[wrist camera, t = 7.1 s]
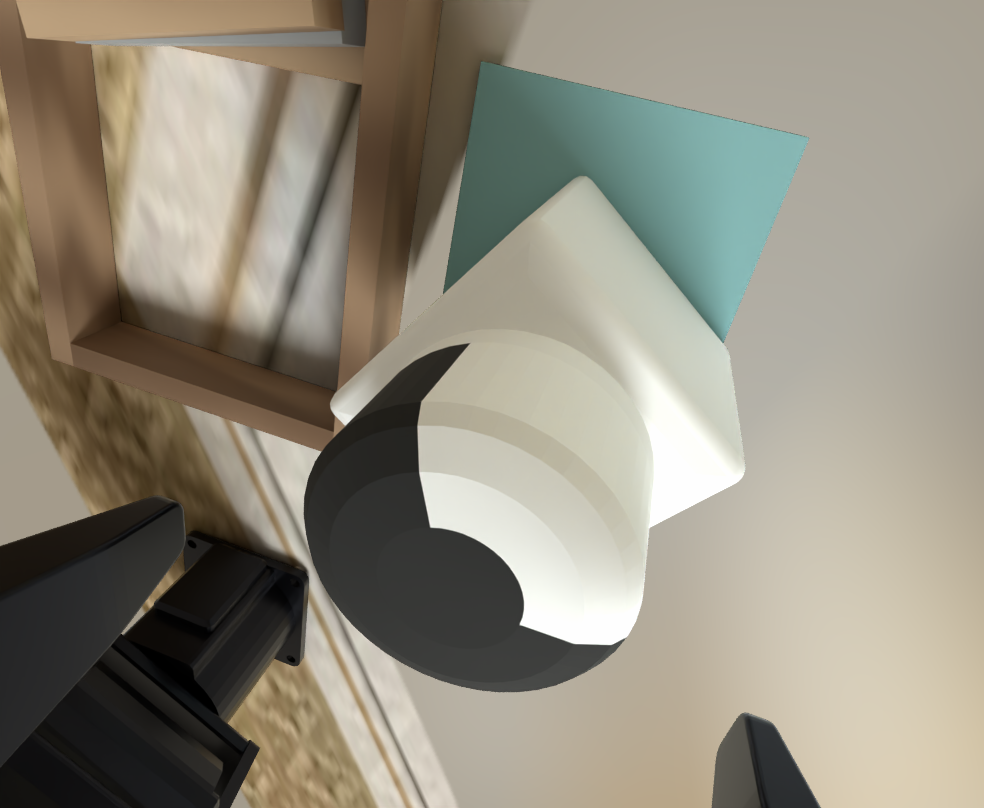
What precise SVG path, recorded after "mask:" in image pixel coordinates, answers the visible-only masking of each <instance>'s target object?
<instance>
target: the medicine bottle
mask: <svg viewBox="0 0 984 808" xmlns="http://www.w3.org/2000/svg"><path fill="white" fill-rule="evenodd" d="M330 408H331V410H332V412H333V413H334V415H335V416H336V417H337V418H338V419H339V420H340V421H341V422H342V423H343V424H344V425H345V427H344V428H343V429H342V430H341V431H340V432H339V433H338V434H337V435H336V436H335V437H334V438H333V439H332V440H331V441H330V442H329V443H328V444H327V445H326V446H325V448H324V449H323V451H322V452H321V454H320V455H319V457H318V458H317V460H316V461H315V463H314V466H313V468H312V471H311V473H310V475H309V478H308V482H307V487H306V491H305V496H304V521H305V529H306V536H307V540H308V545H309V549H310V553H311V556H312V560H313V563H314V566H315V568H316V571H317V573H318V575H319V578H320V580H321V582H322V584H323V585H324V587H325V589H326V591H327V592H328V594H329V596H330V597H331V599H332V600H333V602H334V603H335V604H336V606H337V607H338V608H339V610H340V611H341V612H342V614H343V615H344V616H345V617H346V618H347V619H348V620H349V621H350V622H351V624H352V625H353V626H354V627H355V628H356V629H357V630H358V631H360V632H361V633H362V634H363V635H364V636H365V637H366V638H367V639H368V640H369V641H371V642H372V643H373V644H375V645H376V646H377V647H379V648H380V649H381V650H383V651H384V652H385V653H387V654H388V655H390V656H392V657H393V658H395V659H396V660H398V661H400V662H401V663H403V664H405V665H407V666H409V667H411V668H413V669H415V670H417V671H419V672H421V673H423V674H426V675H428V676H431V677H433V678H435V679H438V680H441V681H444V682H447V683H450V684H454V685H458V686H461V687H466V688H471V689H476V690H482V691H492V692H523V691H531V690H539V689H542V688H547V687H550V686H555V685H557V684H560V683H563V682H565V681H568V680H570V679H572V678H575V677H577V676H579V675H581V674H583V673H585V672H587V671H588V670H590V669H592V668H593V667H595V666H597V665H598V664H600V663H601V662H603V661H604V660H605V659H606V658H608V657H609V656H610V655H611V654H612V653H614V652H615V651H616V649H617V648H618V647H619V646H620V645H621V644H622V642H623V641H624V640H625V639H626V638H627V636H628V634H629V633H630V631H631V629H632V627H633V625H634V623H635V622H636V620H637V616H638V613H639V610H640V606H641V604H642V598H643V590H644V581H645V569H646V558H647V548H648V537H649V528H650V527H652V526H654V525H655V524H657V523H659V522H661V521H663V520H665V519H667V518H669V517H671V516H673V515H675V514H677V513H679V512H681V511H682V510H685V509H686V508H688V507H690V506H692V505H694V504H696V503H698V502H700V501H702V500H704V499H706V498H708V497H710V496H712V495H714V494H715V493H718V492H719V491H721V490H723V489H725V488H727V487H729V486H731V485H733V484H735V483H737V482H738V481H739V480H740V479H741V478H742V477H743V474H744V471H745V467H746V465H745V459H744V451H743V444H742V438H741V431H740V424H739V417H738V410H737V403H736V396H735V389H734V382H733V375H732V368H731V361H730V355H729V352H728V350H727V348H726V347H725V346H724V344H723V343H722V342H721V341H720V339H719V338H718V337H717V336H716V334H715V333H714V332H713V331H712V329H711V328H710V327H709V326H708V324H707V323H706V322H705V321H704V319H703V318H702V317H701V316H700V314H699V313H698V312H697V311H696V309H695V308H694V307H693V306H692V304H691V303H690V302H689V301H688V299H687V298H686V297H685V296H684V294H683V293H682V292H681V291H680V289H679V288H678V287H677V286H676V284H675V283H674V282H673V281H672V279H671V278H670V277H669V276H668V274H667V273H666V272H665V271H664V269H663V268H662V267H661V266H660V264H659V263H658V262H657V261H656V259H655V258H654V257H653V256H652V254H651V253H650V252H649V251H648V249H647V248H646V247H645V246H644V244H643V243H642V242H641V241H640V239H639V238H638V237H637V236H636V234H635V233H634V232H633V231H632V229H631V228H630V227H629V226H628V224H627V223H626V222H625V221H624V219H623V218H622V217H621V216H620V214H619V213H618V212H617V211H616V209H615V208H614V207H613V206H612V204H611V203H610V202H609V201H608V199H607V198H606V197H605V196H604V194H603V193H602V192H601V191H600V190H599V188H598V187H597V186H596V185H595V183H594V182H593V181H592V180H591V179H590V178H588V177H587V176H578V177H576V178H574V179H573V180H572V181H571V182H569V183H568V184H567V185H566V186H565V187H563V188H562V189H561V190H560V191H559V192H557V193H556V194H555V195H554V196H553V197H551V198H550V199H549V200H548V201H547V202H545V203H544V204H543V205H542V206H541V207H540V208H538V209H537V210H536V211H535V212H534V213H532V214H531V215H530V216H529V217H528V218H526V219H525V220H524V221H523V222H522V223H521V224H519V225H518V226H517V227H516V228H515V229H514V230H513V231H512V232H511V233H510V234H509V235H507V236H506V237H505V238H504V239H503V240H502V241H501V242H500V243H499V244H498V245H497V246H495V247H494V248H493V249H492V250H491V251H490V252H489V253H488V254H487V255H486V256H485V257H483V258H482V259H481V260H480V261H479V262H478V263H477V264H476V265H475V266H474V267H472V268H471V269H470V270H469V271H468V272H467V273H466V274H465V275H464V276H463V277H462V278H460V279H459V280H458V281H457V282H456V283H455V284H454V285H453V286H452V287H451V288H450V289H448V290H447V291H446V292H445V293H444V294H443V295H442V296H441V297H440V298H439V299H438V300H436V301H435V302H434V303H433V304H432V305H431V306H430V307H429V308H428V309H427V310H426V311H425V312H423V313H422V314H421V315H420V316H419V317H418V318H417V319H416V320H415V321H413V322H412V323H411V324H410V325H409V326H408V327H407V328H406V329H405V330H404V331H403V332H401V333H400V334H399V335H398V336H397V337H396V338H395V339H394V340H393V341H392V342H391V343H389V344H388V345H387V346H386V347H385V348H384V349H383V350H382V351H381V352H380V353H379V354H377V355H376V356H375V357H374V358H373V359H372V360H371V361H370V362H369V363H368V364H366V365H365V366H364V367H363V368H362V369H361V370H360V371H359V372H358V373H357V374H356V375H354V376H353V377H352V378H351V379H350V380H349V381H348V382H347V383H346V384H345V385H344V386H342V387H341V388H340V389H339V390H338V391H337V392H336V393H335V394H334V396H333V398H332V400H331V402H330Z"/></svg>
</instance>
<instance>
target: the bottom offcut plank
mask: <svg viewBox="0 0 984 808" xmlns="http://www.w3.org/2000/svg"><path fill="white" fill-rule="evenodd" d="M368 4H369V0H365V13H366V29H367V17H368ZM172 47H177V48H182V49H187V50H192V51H197V52H202V53H207V54H212V55H217V56H222V57H227V58H231V59H236V60H241V61H246V62H251V63H256V64H261V65H266V66H271V67H276V68H281V69H286V70H291V71H296V72H301V73H306V74H311V75H316V76H320V77H325V78H330V79H335V80H340V81H345V82H350V83H355V84H360V85H362V78H363V66H364V54H365V47H244V46H172Z"/></svg>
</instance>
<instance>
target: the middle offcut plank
mask: <svg viewBox="0 0 984 808" xmlns="http://www.w3.org/2000/svg"><path fill="white" fill-rule="evenodd" d="M342 9H343V19H344V29H345V31H324V32H299V33H274V34H249V35H224V36H199V37H174V38H149V39H124V40H99V41H75V42H76V43H81V44H95V45H109V46H244V47H365V41H366V13H365V0H342Z"/></svg>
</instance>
